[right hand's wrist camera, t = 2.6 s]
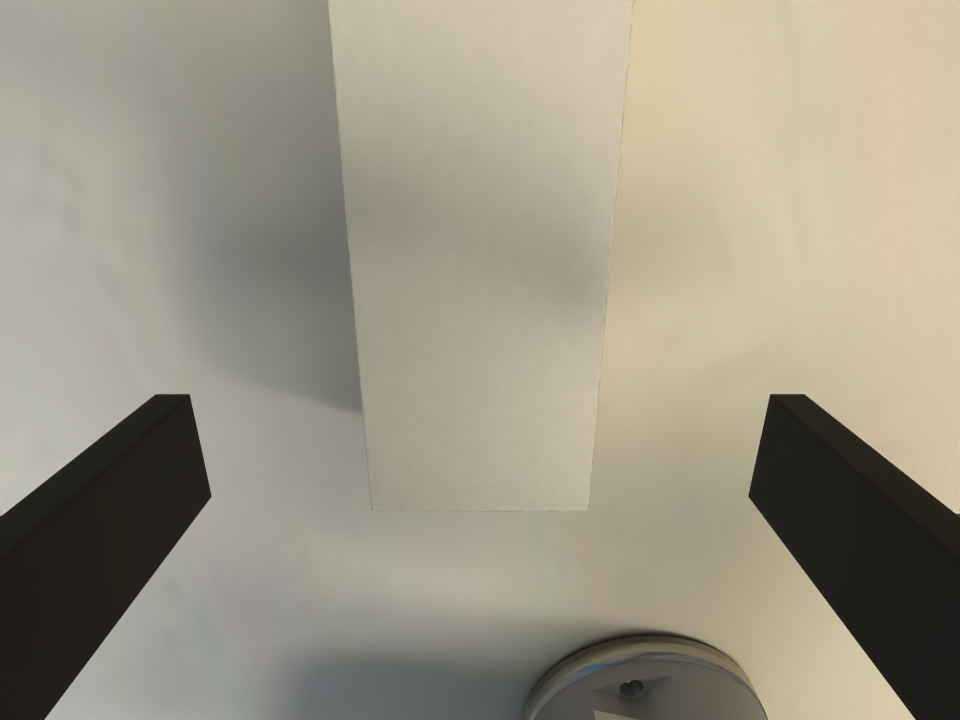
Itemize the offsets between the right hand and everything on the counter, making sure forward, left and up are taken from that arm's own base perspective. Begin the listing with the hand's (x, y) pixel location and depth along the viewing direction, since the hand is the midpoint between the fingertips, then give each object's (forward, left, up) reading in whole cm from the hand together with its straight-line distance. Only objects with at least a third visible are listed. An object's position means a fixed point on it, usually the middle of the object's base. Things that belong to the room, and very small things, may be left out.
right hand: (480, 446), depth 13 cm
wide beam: (+12, -21, -14) cm, 28 cm away
